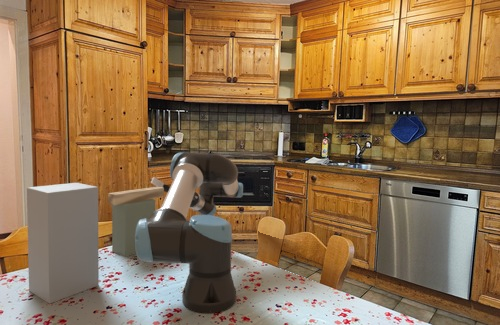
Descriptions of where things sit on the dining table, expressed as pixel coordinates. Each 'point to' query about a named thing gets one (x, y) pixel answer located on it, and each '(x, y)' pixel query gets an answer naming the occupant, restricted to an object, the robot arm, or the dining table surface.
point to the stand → (62, 240)
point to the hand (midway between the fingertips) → (163, 181)
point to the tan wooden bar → (135, 195)
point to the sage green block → (128, 224)
